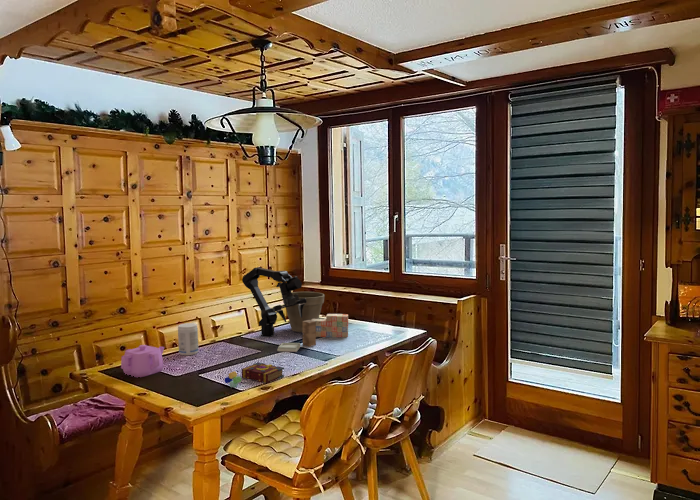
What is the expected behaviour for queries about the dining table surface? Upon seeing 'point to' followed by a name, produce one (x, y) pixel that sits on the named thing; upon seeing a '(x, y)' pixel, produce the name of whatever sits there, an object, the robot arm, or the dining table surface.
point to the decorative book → (262, 372)
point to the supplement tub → (188, 339)
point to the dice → (233, 377)
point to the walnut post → (309, 333)
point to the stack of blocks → (332, 326)
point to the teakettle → (142, 361)
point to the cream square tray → (289, 347)
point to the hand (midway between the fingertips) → (293, 319)
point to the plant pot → (305, 309)
